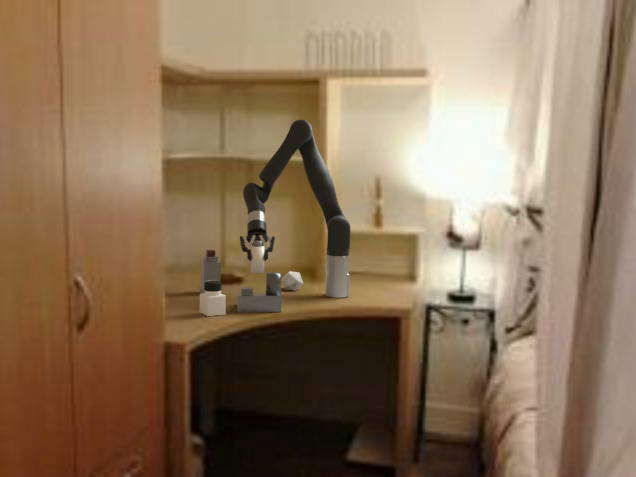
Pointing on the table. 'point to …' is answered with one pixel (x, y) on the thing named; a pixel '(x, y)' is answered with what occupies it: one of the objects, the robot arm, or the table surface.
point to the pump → (257, 257)
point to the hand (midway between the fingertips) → (257, 259)
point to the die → (292, 281)
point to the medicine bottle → (212, 299)
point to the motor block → (262, 296)
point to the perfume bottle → (210, 268)
